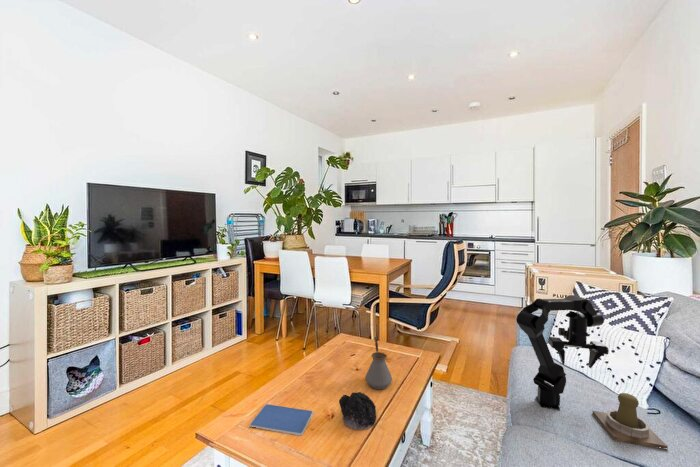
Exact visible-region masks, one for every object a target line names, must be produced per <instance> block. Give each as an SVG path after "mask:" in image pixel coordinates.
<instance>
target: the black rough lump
mask: <svg viewBox="0 0 700 467" xmlns="http://www.w3.org/2000/svg"><path fill="white" fill-rule="evenodd" d="M338 403H339V407H340V412H341V415H342V422H343V423H344V425H346V426H347V427H348V428H349V429H351V430H354V431H356V430H370V429H372V428H373V426H375V423H376V421H377V408H376V405H375V403H374V402H373V400H372V399H371V398H370V397H369V396H368V395H367V394H365V393H364V392H363V393H362V392H361V391H358V392H354V391H353V392H351V393H350V395H347V394H343V395H342V396H341V397H340V398H339V400H338Z"/></svg>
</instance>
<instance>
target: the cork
mask: <svg viewBox="0 0 700 467" xmlns="http://www.w3.org/2000/svg"><path fill="white" fill-rule="evenodd" d="M617 400H618V403H619V404H618V407H617V408H618V409H617V410H618V412H617V416H616V420H615V421H617V422H619V423H620V424H622V425H625V426H628V427H631V428H636V429H639V428H638V419H637V417H638V412H637V408H638V406H639V405H640V404H639V403H640V402H639V400H638V398H637V397H636V396H634V395H633V394H629V393H626V392H620V393H619V394H618V396H617Z"/></svg>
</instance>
